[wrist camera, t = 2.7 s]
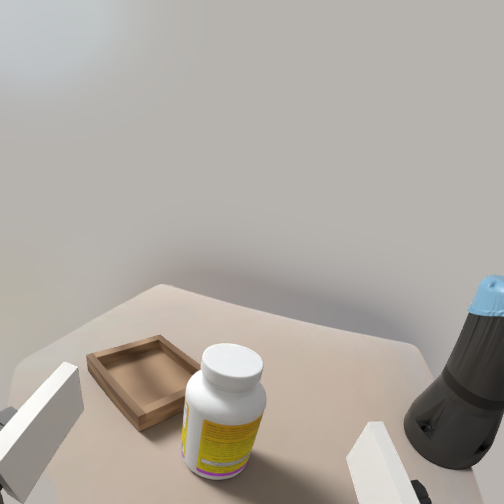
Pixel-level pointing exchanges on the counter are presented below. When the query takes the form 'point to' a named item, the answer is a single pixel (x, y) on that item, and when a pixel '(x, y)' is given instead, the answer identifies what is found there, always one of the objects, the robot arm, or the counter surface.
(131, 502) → the counter surface
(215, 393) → the supplement bottle
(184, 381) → the walnut tray
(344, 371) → the counter surface
